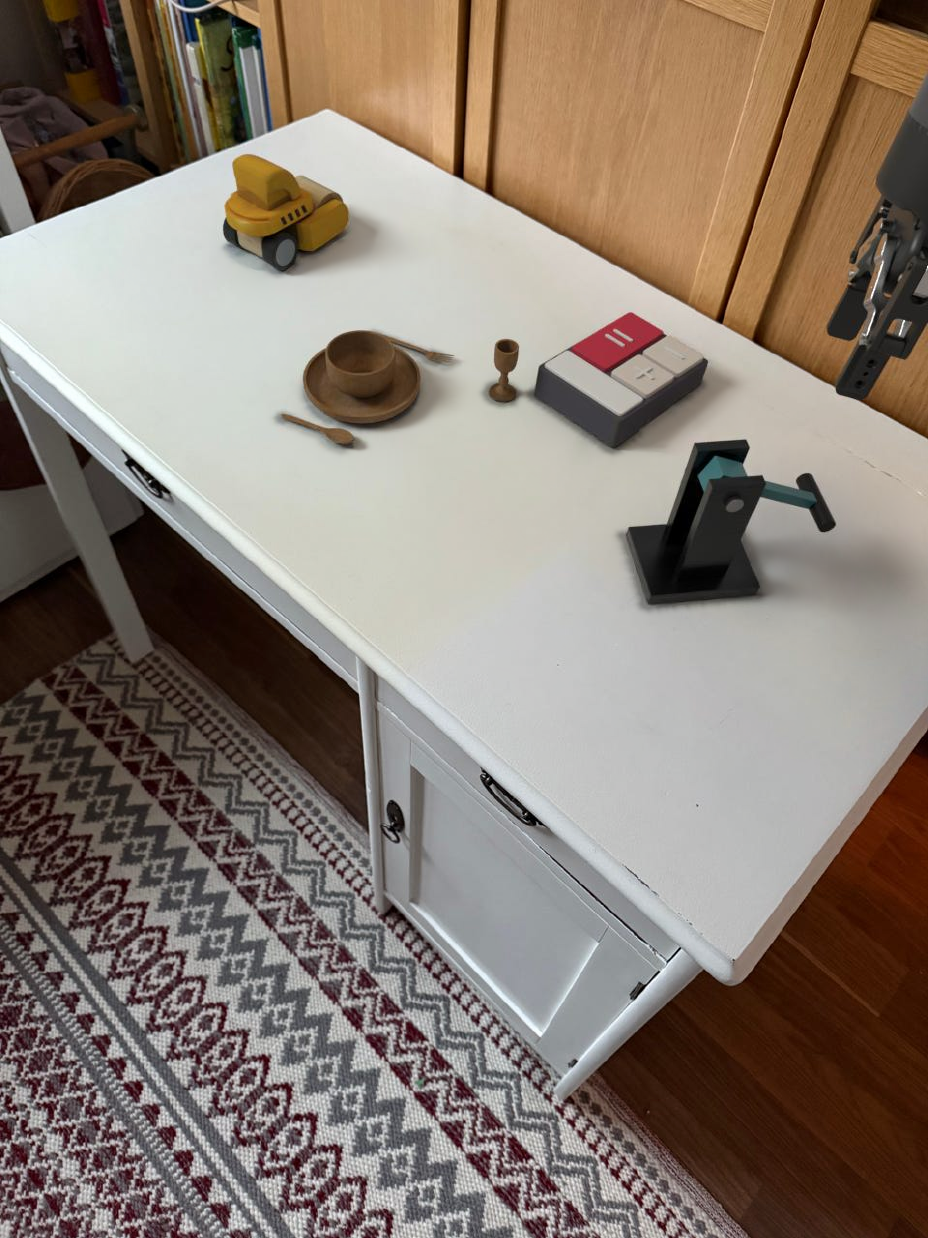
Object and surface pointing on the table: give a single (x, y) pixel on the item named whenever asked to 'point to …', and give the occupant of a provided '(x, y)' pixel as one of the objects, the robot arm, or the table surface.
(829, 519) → the lever
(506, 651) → the table surface
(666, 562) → the bracket
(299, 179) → the toy roller
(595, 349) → the calculator
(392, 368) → the place setting
